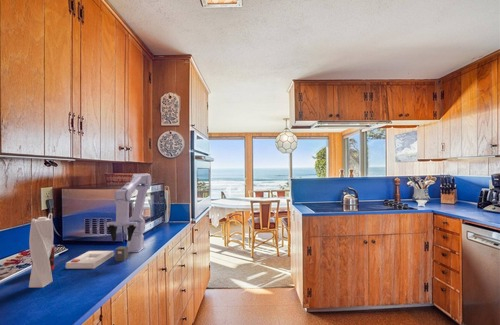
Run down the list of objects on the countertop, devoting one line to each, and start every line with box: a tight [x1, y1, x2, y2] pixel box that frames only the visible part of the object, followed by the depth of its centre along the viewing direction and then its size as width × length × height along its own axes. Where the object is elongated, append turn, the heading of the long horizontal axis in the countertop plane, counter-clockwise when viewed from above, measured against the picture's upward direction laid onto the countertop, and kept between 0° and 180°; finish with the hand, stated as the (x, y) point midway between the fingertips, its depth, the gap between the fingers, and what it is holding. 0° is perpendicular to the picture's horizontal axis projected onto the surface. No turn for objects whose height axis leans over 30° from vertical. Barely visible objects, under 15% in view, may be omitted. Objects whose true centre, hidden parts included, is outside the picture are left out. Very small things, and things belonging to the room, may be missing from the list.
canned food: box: [31, 243, 55, 272], centre depth 120 cm, size 8×8×11 cm
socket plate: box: [65, 250, 115, 270], centre depth 132 cm, size 18×13×3 cm
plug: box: [114, 245, 129, 262], centre depth 136 cm, size 7×4×6 cm
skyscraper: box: [28, 212, 54, 288], centre depth 107 cm, size 8×8×28 cm
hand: (121, 240), depth 136 cm, fingers open, 7 cm apart
